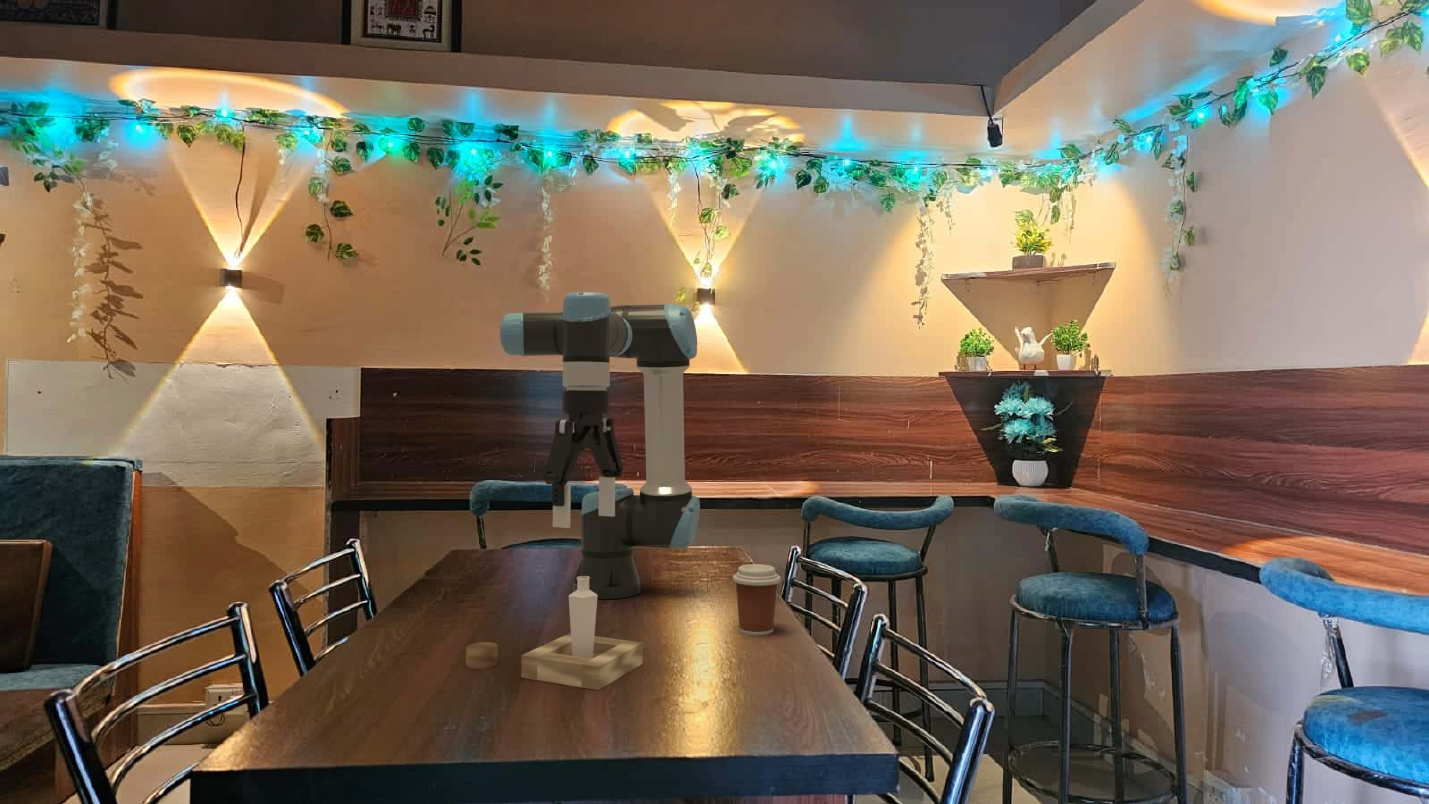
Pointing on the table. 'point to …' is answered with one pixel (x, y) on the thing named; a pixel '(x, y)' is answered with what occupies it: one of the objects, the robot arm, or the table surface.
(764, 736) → the table surface
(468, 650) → the brown short cylinder
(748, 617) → the coffee cup
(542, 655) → the square wooden frame
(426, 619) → the table surface
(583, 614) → the perfume bottle
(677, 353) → the robot arm
